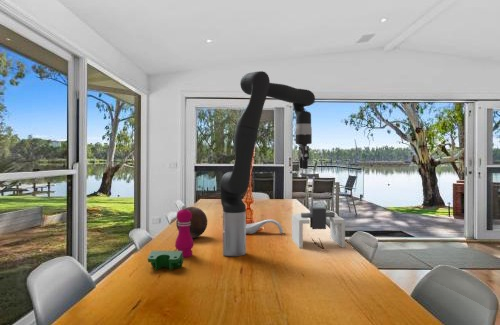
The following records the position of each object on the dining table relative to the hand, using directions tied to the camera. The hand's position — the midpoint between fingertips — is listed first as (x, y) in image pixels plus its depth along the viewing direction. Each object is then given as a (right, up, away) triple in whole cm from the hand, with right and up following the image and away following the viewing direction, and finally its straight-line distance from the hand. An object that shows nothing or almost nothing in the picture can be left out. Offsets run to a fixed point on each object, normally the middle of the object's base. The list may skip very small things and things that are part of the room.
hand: (303, 168), depth 183 cm
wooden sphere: (-53, -34, +6) cm, 64 cm away
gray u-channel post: (+5, -27, -7) cm, 28 cm away
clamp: (-55, -35, -46) cm, 80 cm away
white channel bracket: (+5, -34, -7) cm, 35 cm away
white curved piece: (-20, -34, +18) cm, 44 cm away
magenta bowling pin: (-51, -35, -27) cm, 68 cm away
